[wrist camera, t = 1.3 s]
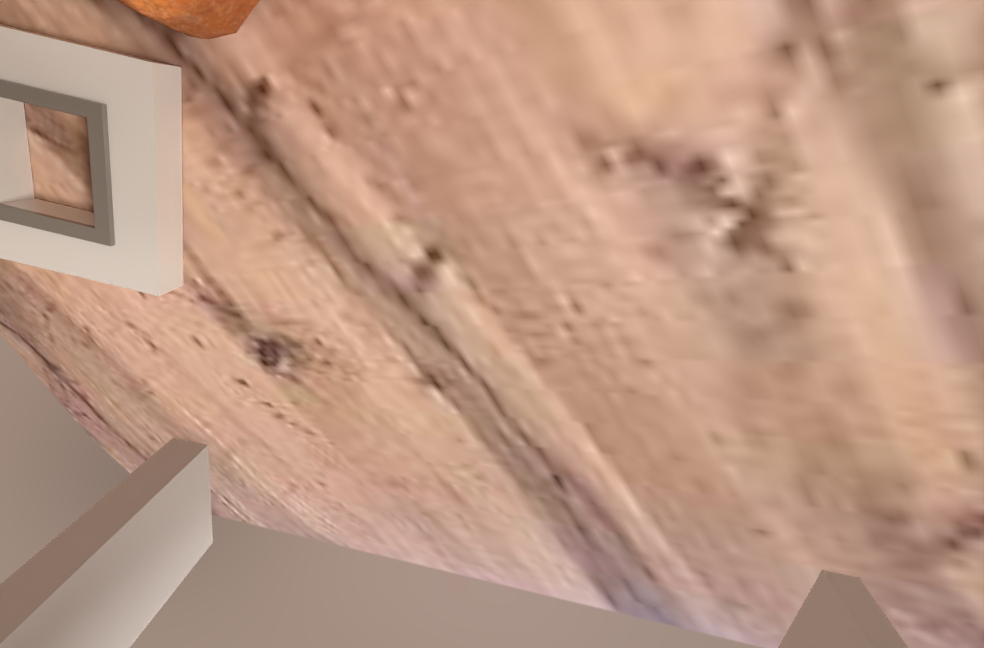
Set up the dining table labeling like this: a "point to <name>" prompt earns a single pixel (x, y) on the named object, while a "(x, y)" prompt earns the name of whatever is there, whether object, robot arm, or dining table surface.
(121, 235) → the socket block
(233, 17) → the bread
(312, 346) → the dining table surface
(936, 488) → the dining table surface
